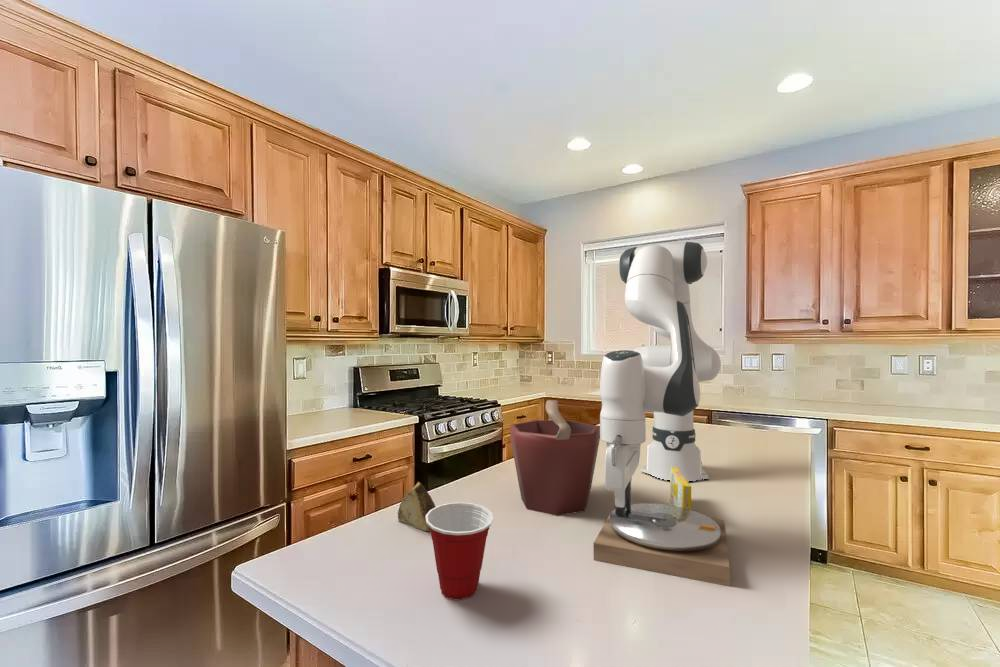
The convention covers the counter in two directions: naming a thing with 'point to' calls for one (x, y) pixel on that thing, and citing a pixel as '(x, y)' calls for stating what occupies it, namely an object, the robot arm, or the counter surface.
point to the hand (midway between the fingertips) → (623, 501)
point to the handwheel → (664, 526)
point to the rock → (416, 507)
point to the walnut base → (666, 556)
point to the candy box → (679, 490)
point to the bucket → (555, 462)
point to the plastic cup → (459, 545)
